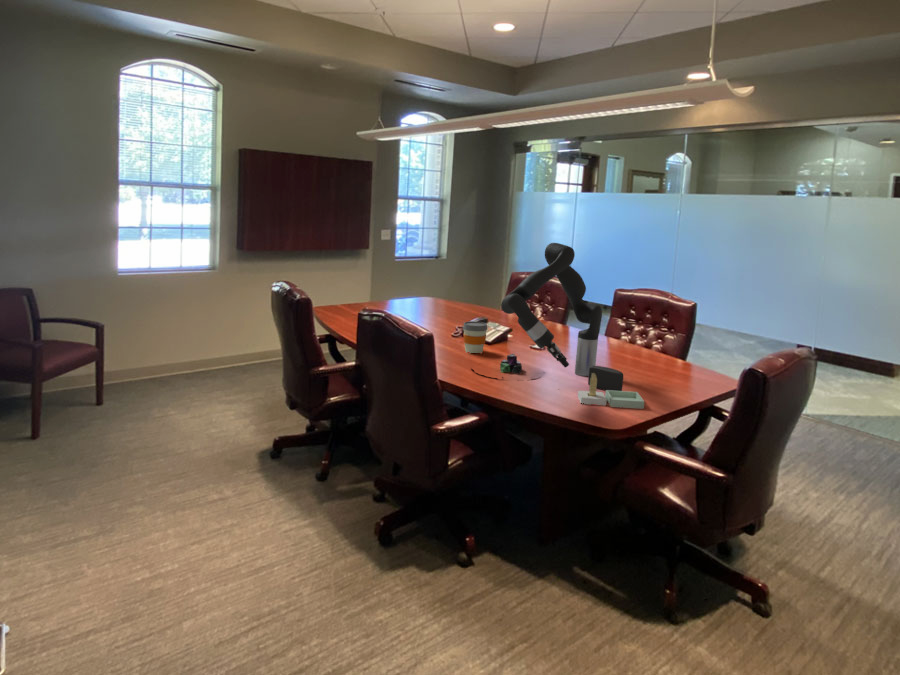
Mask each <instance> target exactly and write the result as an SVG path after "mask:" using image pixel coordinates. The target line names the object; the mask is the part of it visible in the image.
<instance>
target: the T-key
mask: <svg viewBox="0 0 900 675" xmlns="http://www.w3.org/2000/svg"><path fill="white" fill-rule="evenodd" d="M591 377H592V378H590V386H589V389H588V391H589V396H596V392H597V388H596V387H597V378H596V377H597V376H596V375H595V373H592V375H591Z"/></svg>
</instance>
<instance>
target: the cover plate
mask: <svg viewBox="0 0 900 675" xmlns="http://www.w3.org/2000/svg"><path fill="white" fill-rule="evenodd" d="M577 398H578V400H580V401H579V402H580V403H579V404H581V403H582V404H581V405H591V404H597V405H596V406H607V403H608V401H607V399H606V397H605V394H604V392H603V391H596V396H589V390H577ZM583 403H584V404H583Z"/></svg>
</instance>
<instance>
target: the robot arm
mask: <svg viewBox="0 0 900 675" xmlns="http://www.w3.org/2000/svg"><path fill="white" fill-rule="evenodd" d="M544 259H545V261H546V262H547V264H548V265H547V266H545V267H543V268H541V269H538V270H536V271H533V272H532V273H530V274H529V275H527V276H526V277H525V279H523V280H522V281H521V282H520V283H519V284H518V285H517V287H515V289H513V290H512V291H511V292H509V293H508V294H507V295H506V296H504V298H503V299H502V301H501V304H500V308H501V310H502V311H503V312H504V313H505V314H508V315H511V314H514V313H515V316H517V318H518V319H517V323H518V324H519V326H520V327H521V329H522V330H524V332H525V333H526V334H527V335H528V337H529V338H530V339H531V340H532V341H533V342H534V343H535V345H536V346H537V347H538V348H539V349H543V348H545V347H546V351H547V352H548V353H549V354H550V355H551V356H552V357H553V358H555V360H556V362H559V363H560V364H561V365H562V366H563V367H564V369H565V368H567V367H568V366H570V363H569V361H567V359H568V358H567V357H566V356H565V355H564V354H563V352H562V351H561V350H560V347H559V346H558V345H557V343H555V342H554V341H553V340H554V338H555V335H554V334H553V333H552V332H551V330H549V328H548V327H547V326H546V325H545V324H544V323H543V322H542V321H541V320H540V319H539V318H538V317H537V316H536V315H535V314H534V313H533V312H532V310H531V308H530V306H529V304H528V303H527V300H529V299H531V298H532V297H533V296H534V295H535V294H536V293H537V292H538V291H539V290H540V289H541V288H542V287H544V285H545V284H547V283H548V282H549V281H551V280H552V279H554V278H555V277H557V280H558V281H559V283H560V285H561V287H562V289H563V292H564V293H565V294H566V296H567V299H568V300H569V302H570V304H571V306H572V309H573V312H574V315H575V317H576V320H577V321H579V322H580V323H583V324H588V325H589V326H588V328H586V329H582V330H581V329H580V330H579V331H578V333H577V345H576V355H575V367H574V368H575V369H574V374H576V375H578V376H581V377H589V368H590V367H591V366H597V353H598V344H599V343H598V342H599V335H600V331H601V326H602V317H603V308H602V306H601V305H599V304H594V303H588V302H586V301H584V299H583V298H584V297H585V294H586V291H587V287H586V284H585V282H584V280H583V277H582V275H581V274H580V273H579V272H578V271H576V269H575V268H574V267H572V266H571V264H573V262H574V260H575V250H574V249H573V247H572V246H569V245H566V244H563V243H562V244H561V243H558V242H550V243H549V244H547V245H546V247H545V249H544Z"/></svg>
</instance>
